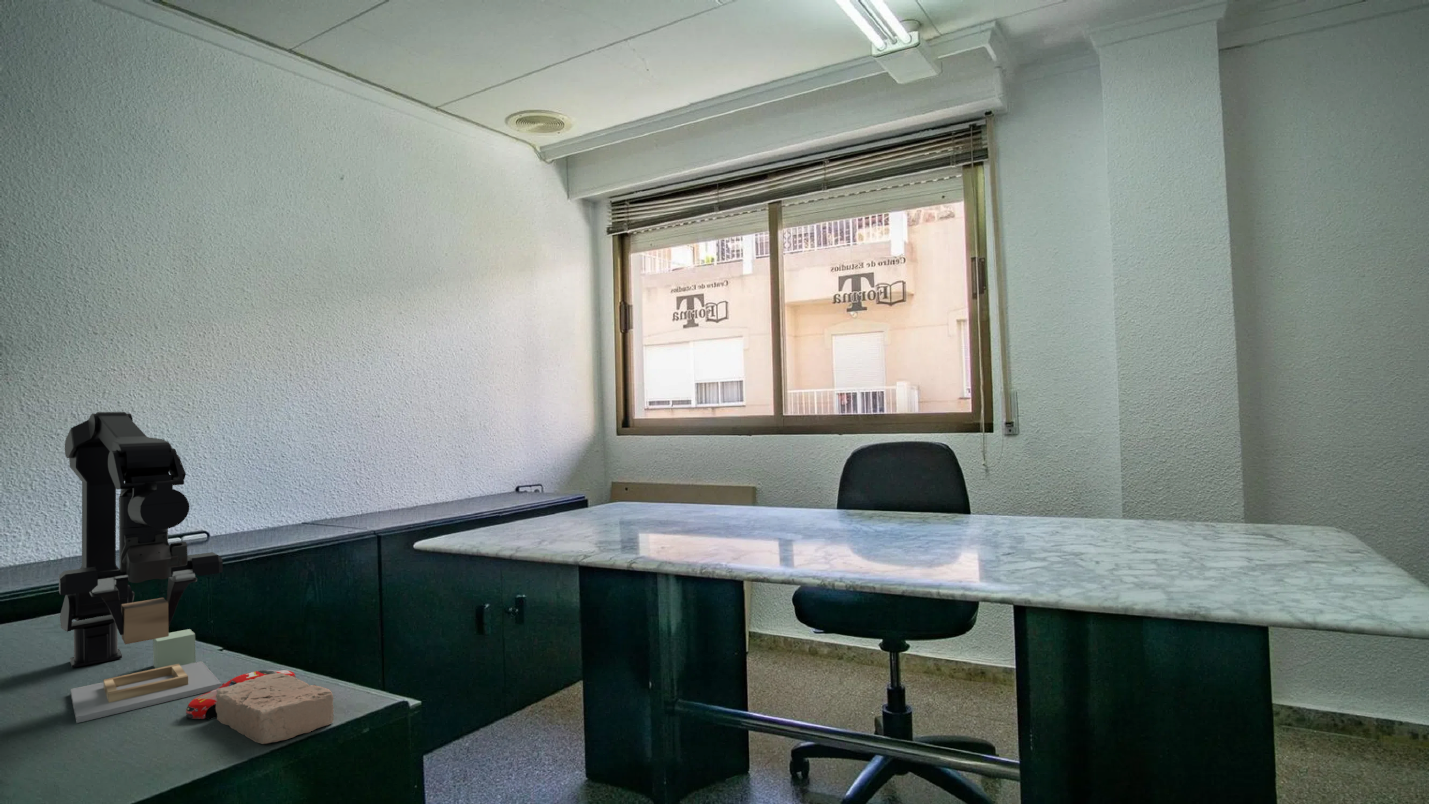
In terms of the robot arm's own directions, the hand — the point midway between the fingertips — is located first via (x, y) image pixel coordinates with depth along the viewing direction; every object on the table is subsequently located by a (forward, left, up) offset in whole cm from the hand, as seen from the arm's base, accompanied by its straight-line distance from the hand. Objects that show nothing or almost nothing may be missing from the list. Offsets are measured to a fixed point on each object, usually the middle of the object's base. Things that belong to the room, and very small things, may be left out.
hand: (144, 630), depth 105 cm
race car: (+18, +9, -10) cm, 22 cm away
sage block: (-13, +5, -9) cm, 17 cm away
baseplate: (0, 0, -9) cm, 9 cm away
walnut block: (0, 0, -1) cm, 1 cm away
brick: (+29, +10, -10) cm, 32 cm away
